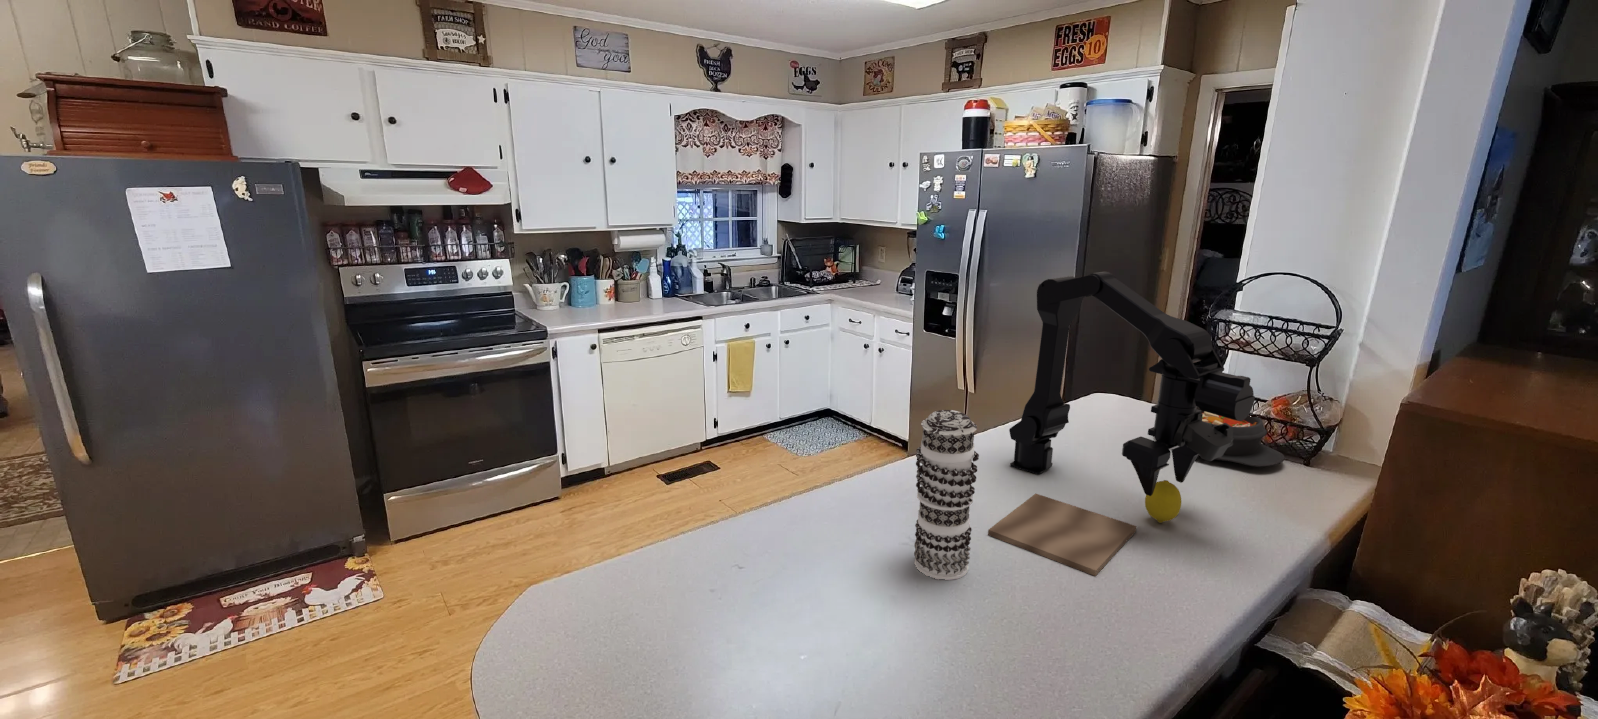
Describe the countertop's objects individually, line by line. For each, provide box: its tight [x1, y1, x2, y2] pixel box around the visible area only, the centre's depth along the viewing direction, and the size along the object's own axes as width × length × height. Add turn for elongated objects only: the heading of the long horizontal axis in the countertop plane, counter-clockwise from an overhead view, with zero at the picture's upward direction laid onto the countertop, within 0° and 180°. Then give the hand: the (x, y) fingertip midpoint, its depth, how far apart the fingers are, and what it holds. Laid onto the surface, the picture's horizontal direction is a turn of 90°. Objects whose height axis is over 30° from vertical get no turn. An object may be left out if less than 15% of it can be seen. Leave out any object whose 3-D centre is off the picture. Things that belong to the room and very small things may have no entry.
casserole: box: [1196, 407, 1285, 468], centre depth 148 cm, size 25×19×8 cm
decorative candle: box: [913, 409, 980, 581], centre depth 105 cm, size 9×9×25 cm
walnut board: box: [987, 493, 1138, 577], centre depth 117 cm, size 18×18×1 cm
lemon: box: [1144, 479, 1182, 523], centre depth 119 cm, size 6×6×8 cm
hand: (1164, 488), depth 118 cm, fingers open, 9 cm apart
